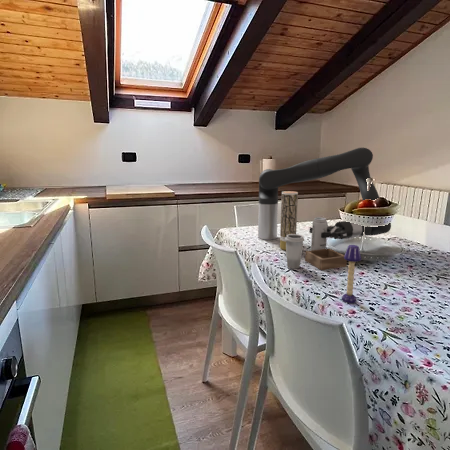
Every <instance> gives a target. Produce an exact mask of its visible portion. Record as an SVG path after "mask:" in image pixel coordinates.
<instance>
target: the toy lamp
mask: <svg viewBox="0 0 450 450" xmlns="http://www.w3.org/2000/svg"><path fill="white" fill-rule="evenodd" d="M344 255H345V256H344V259H345V260H347V261H348V265H347V266H348V271H347V280H346V281H347V285H346V293H344V294H342V296H341V301H342V300H343V301H342V302H344V303H346V302H348V303H347V304H355V303H356V302H358V301H357V297H356V296H355V295H354V294H353V293H354V291H353V290H354V283H355V282H354V279H355V269H356V266H355V264H356V263H357V262H360V261H362V256H361V255H362V254H361V251H360V247H359V246H358V245H357V244H356V245H355V244H349V245H348V246H347V248H346V251H345V254H344Z"/></svg>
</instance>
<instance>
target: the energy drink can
mask: <svg viewBox="0 0 450 450" xmlns="http://www.w3.org/2000/svg"><path fill="white" fill-rule="evenodd" d="M327 225H328V221H327V218H326V217H321V216H320V217H319V216H317V217H314V218H313V221H312V227H311V228H312V233H311V241H310V242H311V244H310V245H311V246H310V251H311V250H319V249H327V240H328V238H321V233H323V232H327Z"/></svg>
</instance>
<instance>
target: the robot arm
mask: <svg viewBox="0 0 450 450" xmlns="http://www.w3.org/2000/svg"><path fill="white" fill-rule="evenodd" d="M373 159H374V154H373V152H372V150H370V149H369V148H367V147H357V148H355V149H351V150H348V151H346V152H343V153H339V154H333V155H327V156H322V157H318V158H313V159H309V160H305V161H302V162H299V163H297V164H294V165H291V166H289V167H285V168H280V169H270V168H268V169H267V168H266V169H264V170H262V171H261V173H260V174H259V176H258V219H257V220H258V221H257V227H258V228H257V236H258V239H261V240H265V241H266V240H268V241H269V240H275V239H277V238H278V215H279V213H278V212H279V209H278V208H279V187H282V186H286V185H290V184H295V183H304V182H308V181H315V180H318V179H322V178H325V177H328V176H330V175H333V174H335V173H337V172H341V171H344V170H348V169H351V171H352V173H353V175H354V178H355V180H356V183H357V186H358V188H359V192H360V196H361V199H362V201H363V200H365V199H371V200H375V199H377V198H380V195H379V193H378V190H377V188H376V186H375V184H374V182H373V181H372V184H371V187H370V190H369V191H367V182H366V179H367V178H371V177H372V176H371V174H370V167H369V166H370V164H371V163H372V161H373ZM371 179H372V178H371ZM346 221H347V220H344V221H343V220H342V221H337V222H335V224H334V225H328V224H327V232H323V233H321V238H327V239H328V238H329V239H334V240H345V239H354V238H358V237H366V236H379V235H382V234H387V233H388V232H390V231H391V229H392V222H391V223H389V224H388V225H385V226H378V227H365V236H363V232H364V226H361V225H358V224H354V223H350V222H346ZM308 230H309V232H308V233H309V234H312V227H310V228H309V229H308Z"/></svg>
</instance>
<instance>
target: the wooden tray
mask: <svg viewBox="0 0 450 450" xmlns="http://www.w3.org/2000/svg"><path fill="white" fill-rule="evenodd" d="M304 252H305V253H304V255H305V256H304V261H305V262H306V263H308V264H310V265H311V266H313V267H315V268H317V269H318V270H320V271H325V270H332V269H339V268H346V267H347V260H345V259H344V256H345V254H342V253H340V252H338V251H336V250H333V249H332V248H330V247H328V248H326V249H319V250H311V249H310V250H306V251H304Z"/></svg>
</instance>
